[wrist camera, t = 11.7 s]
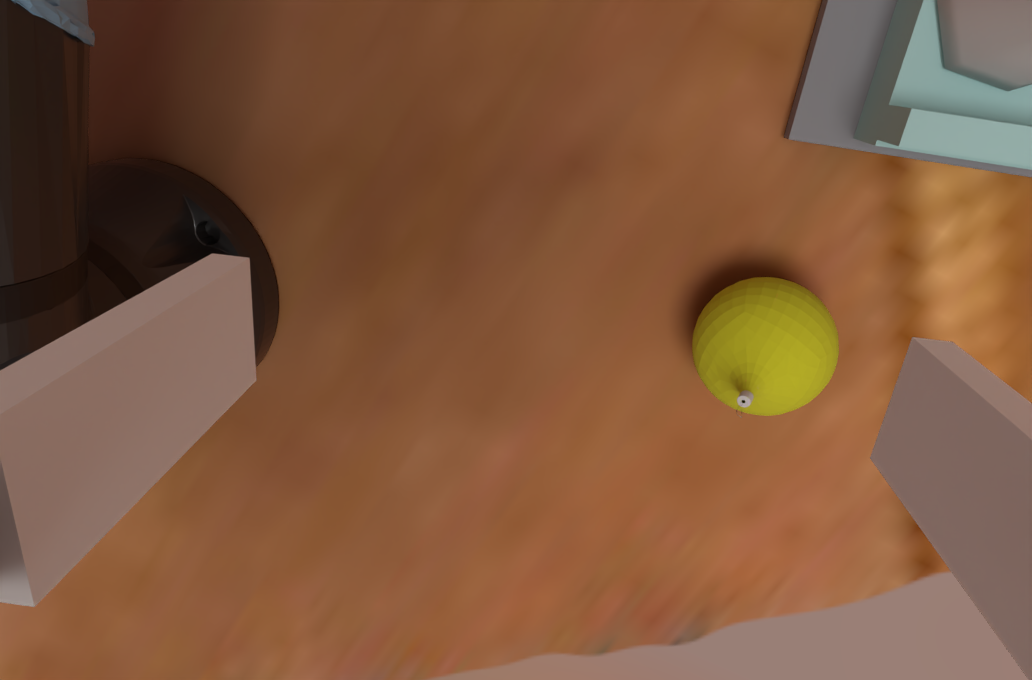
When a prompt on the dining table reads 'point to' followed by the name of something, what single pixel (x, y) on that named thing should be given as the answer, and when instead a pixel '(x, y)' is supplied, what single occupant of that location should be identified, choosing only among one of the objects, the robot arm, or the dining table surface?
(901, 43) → the display stand
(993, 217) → the dining table surface
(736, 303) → the ornament
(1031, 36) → the flask
